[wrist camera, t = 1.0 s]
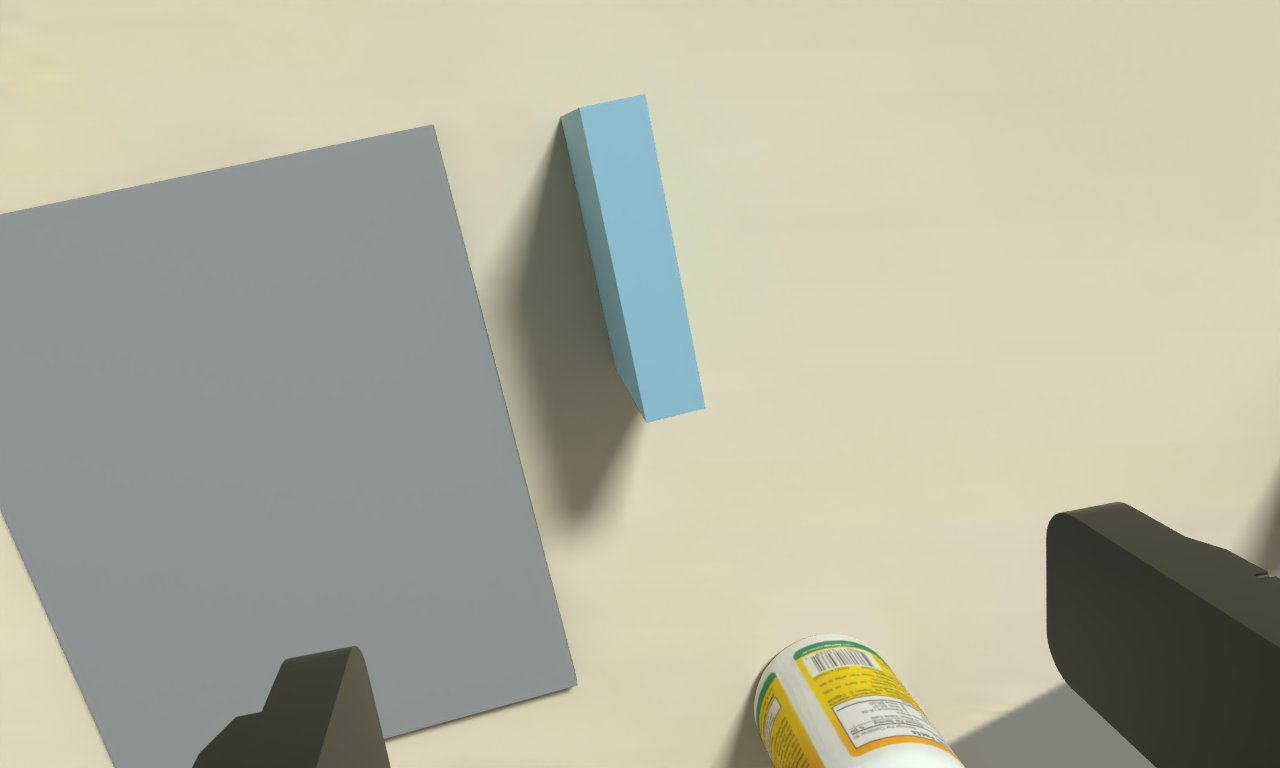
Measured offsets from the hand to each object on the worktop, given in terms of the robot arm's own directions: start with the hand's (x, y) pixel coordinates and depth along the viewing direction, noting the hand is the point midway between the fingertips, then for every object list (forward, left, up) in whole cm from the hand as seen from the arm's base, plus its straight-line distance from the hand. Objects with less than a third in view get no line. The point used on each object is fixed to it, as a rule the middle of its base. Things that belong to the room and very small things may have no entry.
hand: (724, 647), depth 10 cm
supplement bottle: (-6, +16, -19) cm, 26 cm away
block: (-2, -2, -19) cm, 19 cm away
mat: (+10, +3, -19) cm, 22 cm away
